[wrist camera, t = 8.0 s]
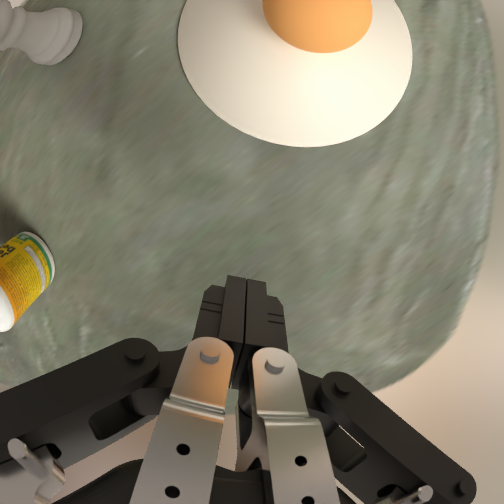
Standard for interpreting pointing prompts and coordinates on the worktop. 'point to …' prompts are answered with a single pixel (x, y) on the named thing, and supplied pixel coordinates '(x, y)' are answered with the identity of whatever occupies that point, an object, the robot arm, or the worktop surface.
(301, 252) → the worktop surface
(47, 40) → the rook chess piece
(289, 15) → the egg
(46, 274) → the supplement bottle
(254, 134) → the disc
